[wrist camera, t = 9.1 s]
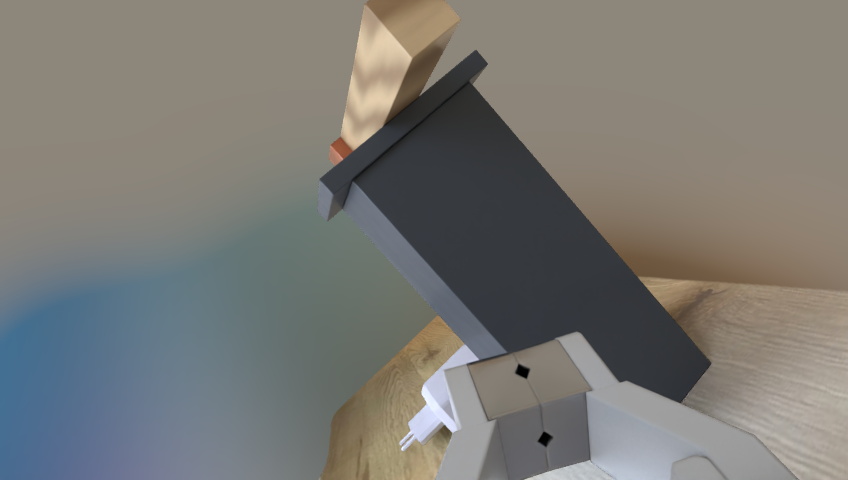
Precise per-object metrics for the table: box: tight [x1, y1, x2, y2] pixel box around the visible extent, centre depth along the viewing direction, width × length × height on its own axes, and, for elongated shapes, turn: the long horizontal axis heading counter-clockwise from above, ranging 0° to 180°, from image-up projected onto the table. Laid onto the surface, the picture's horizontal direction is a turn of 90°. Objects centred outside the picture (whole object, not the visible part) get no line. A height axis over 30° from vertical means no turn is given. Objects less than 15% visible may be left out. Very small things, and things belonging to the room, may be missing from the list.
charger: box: [400, 344, 479, 451], centre depth 54 cm, size 5×9×15 cm
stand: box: [317, 50, 711, 403], centre depth 35 cm, size 11×13×26 cm
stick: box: [329, 0, 461, 166], centre depth 31 cm, size 22×5×3 cm, turn 17°
